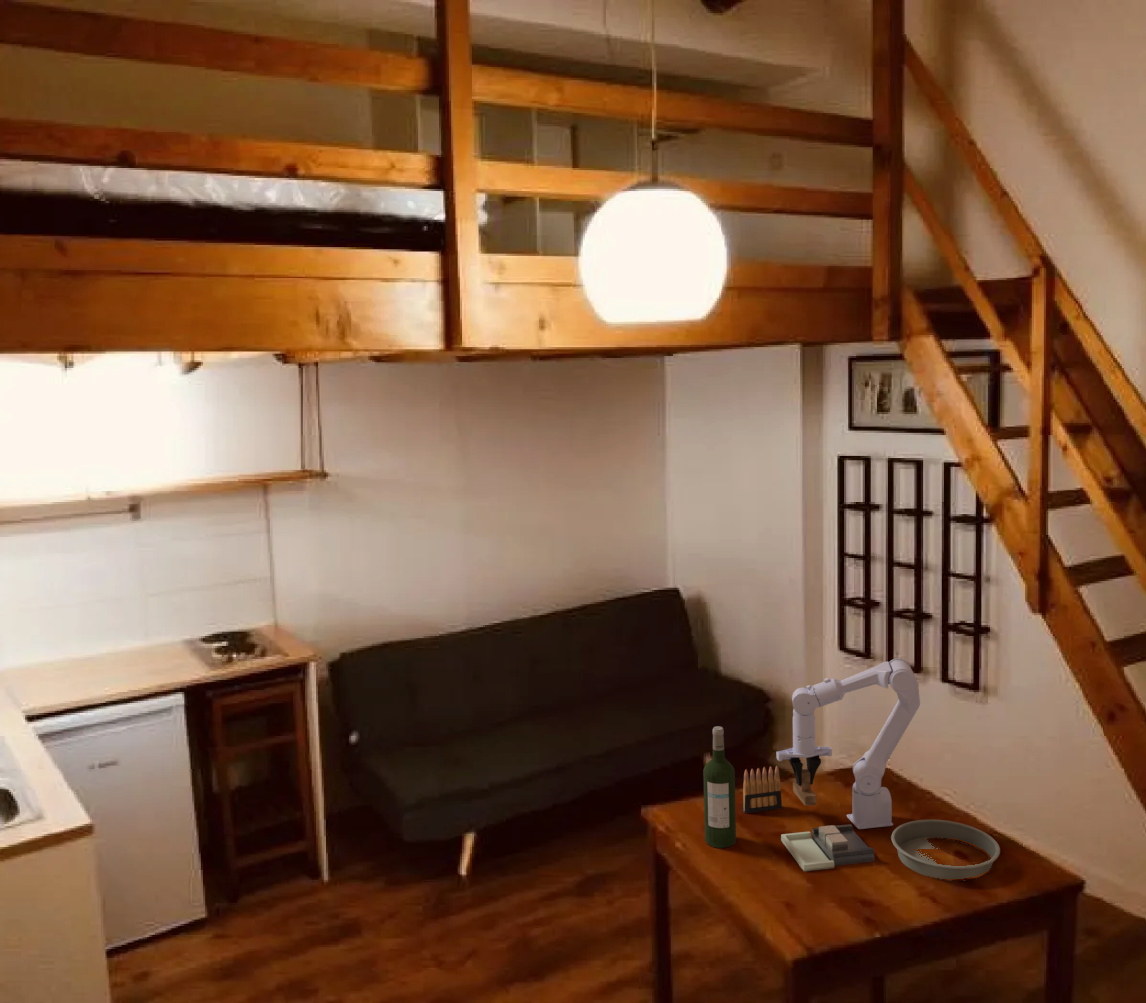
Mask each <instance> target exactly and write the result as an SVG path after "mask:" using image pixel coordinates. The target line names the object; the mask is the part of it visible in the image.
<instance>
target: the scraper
mask: <svg viewBox="0 0 1146 1003" xmlns="http://www.w3.org/2000/svg"><path fill="white" fill-rule="evenodd" d="M792 792H793V793H794V794H795V796H796V797H797V798H798V799H799V800H800V802H801V803H802V804H803V805H804V806H805V807H809V806H817V795H816V793H815V792H814V791H813V790H812V789H811V785H810V771H809V770H808V769H807V768H802V786H799V785H798V784H797V783H796V781H794V782H792Z"/></svg>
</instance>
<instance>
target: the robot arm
mask: <svg viewBox="0 0 1146 1003" xmlns="http://www.w3.org/2000/svg"><path fill="white" fill-rule="evenodd" d="M823 680H824V681H822V682H819V683H816V684H813V685H811V684H808V685H806V687H798V688H796V689H795V690H794V691H793V693H792V695H791V700H792V708H793V710H792V747H791V748H790V747H789V748H787V749H783V750H779V751H776V754H775V755H776V757H775V758H776V760H777V761H778V762H782V761H784V760H788V761H789V764H790V766H791V769H792V771H793V773H794V777H795V782H796V783H797V784H798V785H799V786H802V769H803V767H804V763H802V761H801V760H802V759H805V761H806V769H808V770H809V771H810V786H811V785H813V784H814V780H815V775H816V773H817V772H818V769H819V767H820V766H821V764H822V759H821V757H826V756H827V757H832V756H833V749H832V748H831V747H830V746H816V718H815V710H816V709H817V708H821V707H824V706H828V705H830V704H832V703H835V702H838V701H842V700H843V698H844V697H845V695H846V693H851V692H853V691H857V690H860V689H864V688H868V687H870V686H874V685H877V686H879V687H882V688H885V689H889V685H890V687H891V689H892V690H893V691H894V693H896V696H897V698H898V700H897V702H896V704H895V705H894V707H893V709H892V711H891V713H890V714H889V716H888V718H887V719H886V721H885V723H884V725H883V726H882V727H881V729H880V731H879V734H878V735H877V737H876V738H875V740H874V741H873V743H872V745H871V747H870V749H868V750H867V751H865V752H864V754H863V755H862V757H860V758H859V759H857V760H856V761H855V762H854V764H853V765H852V773H853V776H854V780H855V782H854V783H853V785H852V789H851V790H852V791H851V792H852V795H851V796H852V804H851V807H852V809H851V810H852V811H851V812H852V813H849V814H846V817H847V819H848V820H849V821H851V823H852V824H853V825H854V826H855V827H856V828H857V830H866V829H873V828H874V829H875V828H885V827H892V826H894V823H893V822H892V820H893V819H892V816H893V815H892V811H893V809H892V808H893V806H892V805H893V804H892V802H893V800H892V796H891V792H890V791H889V789H888V788H887V787H886V786H882V778H883V777H884V774H885V772H886V767H887V763H888V761H889V759H890V757H891V756H892V754H893V752H894V751H895V750H896V748H897V746H898V744H899V742H900V740H901V739H902V737H903V735H904V734H905V732H906V730H907V729H908V727H909V725H910V723H911V721H912V720H913V718H914V716H915V715H916V713H917V711H918V710H919V708H920V706H921V698H920V688H919V686H920V684H919V682H918V680H917V678H916V676H915V673H914V671H913V669H912V667H911V665H910V663H909V662H908V661H907V660H905V659H902V658H893V659H891V660H890V661H883V662H881V663H878V664H877V665H876V666H873V667H870V668H868V669H865V670H863V671H860V672H858V673H856V674H853V675H851V676H848V677H847V678H844V679H842V680H839V679H837V678H834V677H833V678H829V677H826V678H823Z"/></svg>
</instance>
